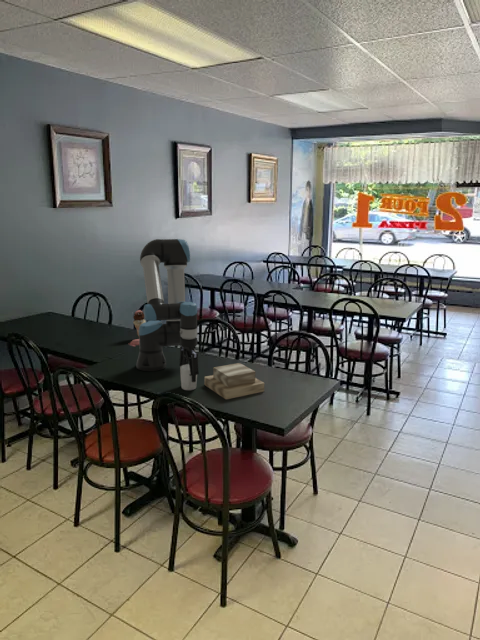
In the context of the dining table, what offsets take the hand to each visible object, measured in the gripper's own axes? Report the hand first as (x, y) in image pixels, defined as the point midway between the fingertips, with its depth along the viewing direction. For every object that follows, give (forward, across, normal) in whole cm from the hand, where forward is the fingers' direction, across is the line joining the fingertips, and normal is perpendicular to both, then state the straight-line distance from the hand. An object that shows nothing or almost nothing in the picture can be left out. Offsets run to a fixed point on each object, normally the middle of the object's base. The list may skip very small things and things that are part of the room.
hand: (188, 385), depth 229 cm
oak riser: (+1, +10, +18) cm, 21 cm away
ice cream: (+2, -84, +6) cm, 84 cm away
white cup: (+1, 0, 0) cm, 1 cm away
